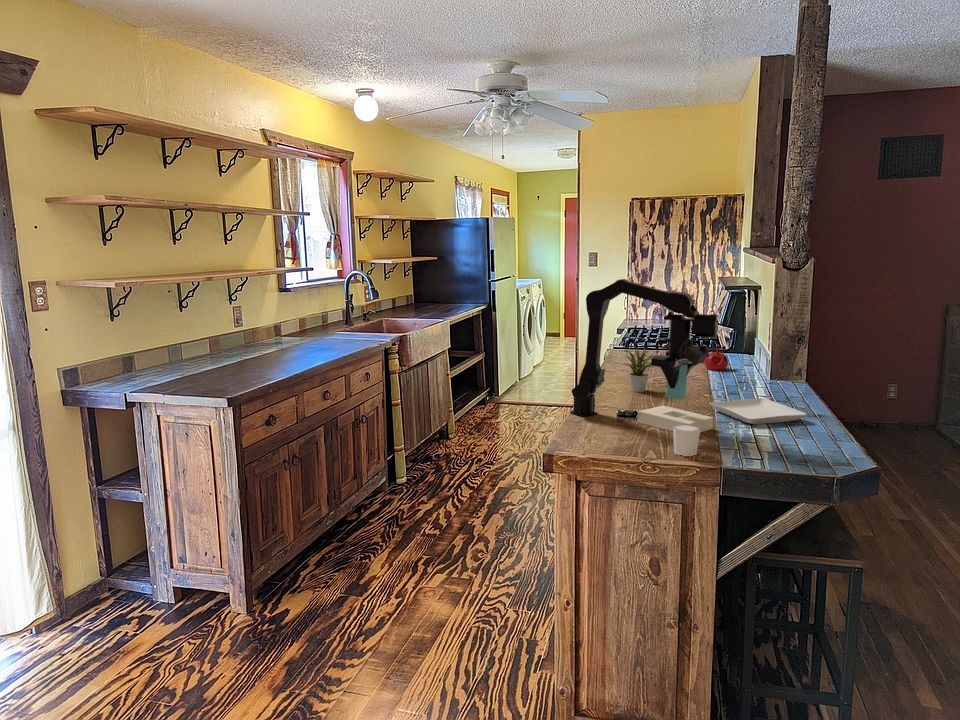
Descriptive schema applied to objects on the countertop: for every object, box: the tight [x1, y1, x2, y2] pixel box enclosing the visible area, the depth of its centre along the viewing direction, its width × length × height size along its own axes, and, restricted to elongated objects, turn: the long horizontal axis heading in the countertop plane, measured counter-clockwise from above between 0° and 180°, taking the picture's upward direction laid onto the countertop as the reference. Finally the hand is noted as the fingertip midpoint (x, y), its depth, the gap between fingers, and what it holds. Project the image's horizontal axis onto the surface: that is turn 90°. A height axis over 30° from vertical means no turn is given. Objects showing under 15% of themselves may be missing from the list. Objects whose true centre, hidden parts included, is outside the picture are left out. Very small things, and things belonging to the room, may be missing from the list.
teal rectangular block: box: [665, 363, 688, 400], centre depth 197 cm, size 4×4×10 cm
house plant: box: [621, 346, 659, 393], centre depth 243 cm, size 14×14×16 cm
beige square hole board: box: [637, 405, 714, 433], centre depth 199 cm, size 12×18×4 cm, turn 38°
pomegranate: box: [703, 348, 729, 372], centre depth 287 cm, size 10×10×9 cm
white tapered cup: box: [672, 425, 701, 457], centre depth 173 cm, size 7×7×7 cm
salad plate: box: [709, 397, 808, 425], centre depth 210 cm, size 21×21×3 cm
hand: (676, 387), depth 198 cm, fingers closed on teal rectangular block, 4 cm apart
